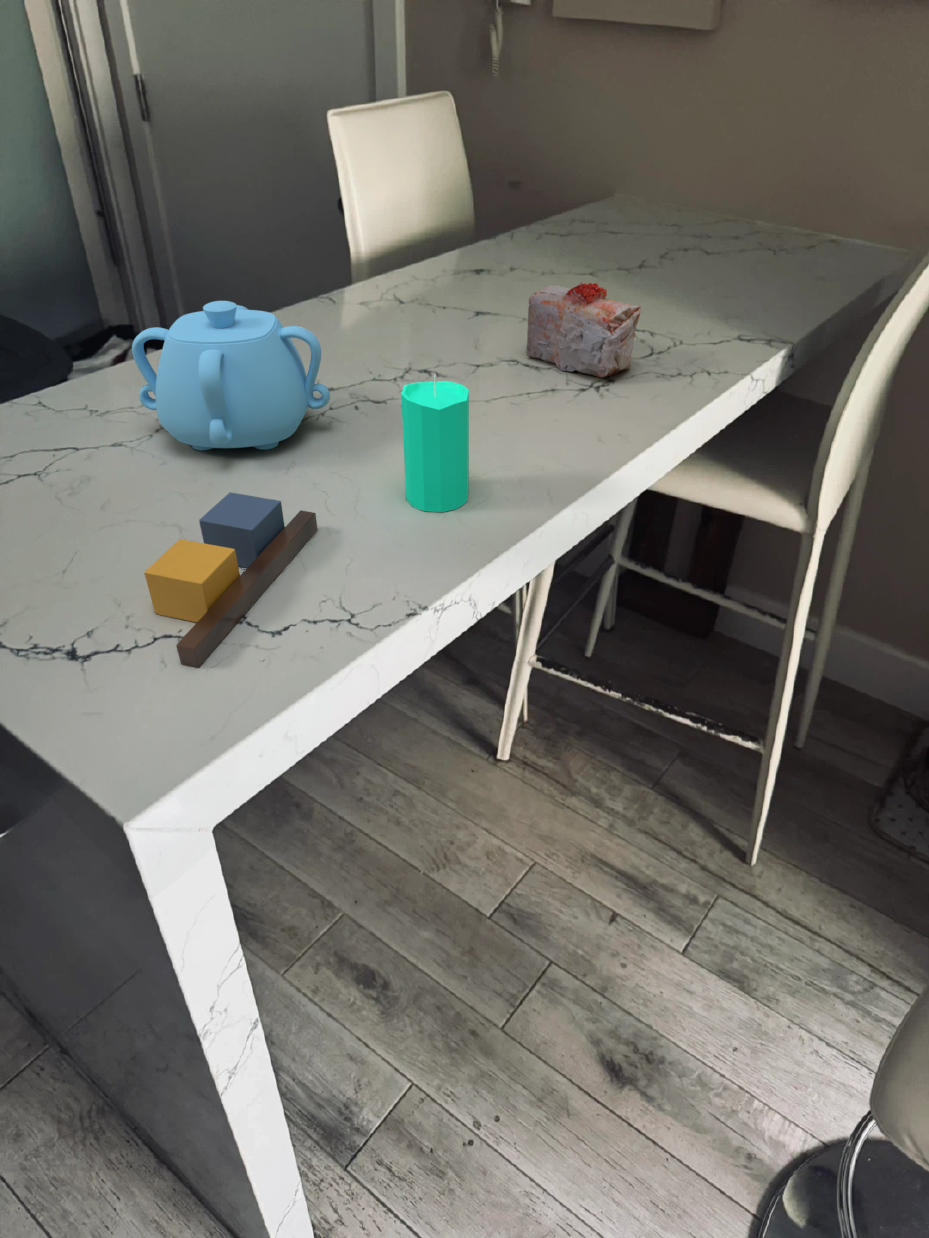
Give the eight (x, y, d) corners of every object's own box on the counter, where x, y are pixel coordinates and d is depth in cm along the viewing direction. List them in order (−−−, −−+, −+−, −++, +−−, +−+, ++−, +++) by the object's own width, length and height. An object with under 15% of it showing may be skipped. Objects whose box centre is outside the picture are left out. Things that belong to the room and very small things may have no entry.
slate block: (259, 570, 73) (252, 529, 71) (207, 560, 74) (198, 520, 72) (287, 540, 77) (281, 500, 74) (237, 531, 78) (229, 491, 76)
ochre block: (211, 626, 67) (201, 583, 65) (154, 614, 68) (143, 572, 66) (243, 590, 71) (235, 548, 68) (189, 579, 72) (179, 538, 70)
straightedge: (198, 668, 63) (193, 649, 62) (180, 664, 64) (175, 644, 62) (317, 530, 78) (315, 512, 77) (302, 527, 79) (300, 510, 78)
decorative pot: (270, 389, 104) (253, 271, 95) (345, 434, 94) (333, 306, 86) (139, 427, 95) (107, 301, 87) (206, 481, 85) (178, 344, 77)
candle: (395, 505, 82) (388, 382, 75) (421, 476, 86) (417, 358, 79) (454, 517, 80) (453, 393, 73) (478, 488, 84) (479, 368, 77)
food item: (642, 368, 109) (652, 287, 103) (608, 388, 104) (616, 304, 98) (552, 343, 116) (557, 266, 110) (516, 361, 111) (519, 281, 105)
